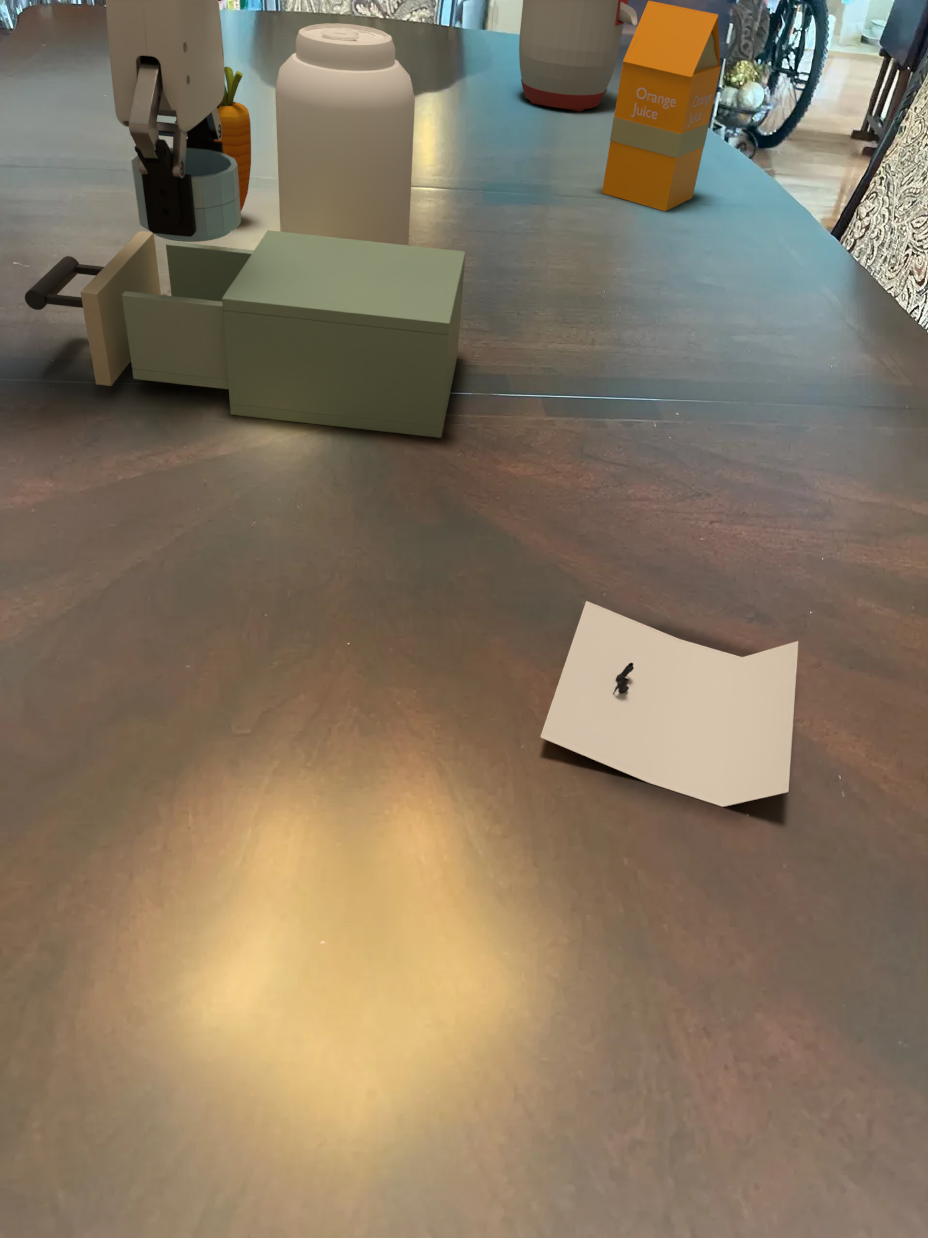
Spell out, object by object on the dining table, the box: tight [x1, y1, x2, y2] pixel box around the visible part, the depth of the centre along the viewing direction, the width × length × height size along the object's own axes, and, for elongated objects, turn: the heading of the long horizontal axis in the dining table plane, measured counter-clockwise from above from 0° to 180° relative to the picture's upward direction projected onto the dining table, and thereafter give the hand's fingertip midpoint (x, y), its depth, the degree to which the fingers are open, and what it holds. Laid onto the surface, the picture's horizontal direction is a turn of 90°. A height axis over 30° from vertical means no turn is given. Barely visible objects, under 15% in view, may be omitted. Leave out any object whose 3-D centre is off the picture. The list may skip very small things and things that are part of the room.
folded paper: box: [540, 600, 799, 808], centre depth 54 cm, size 12×12×2 cm
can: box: [274, 22, 416, 246], centre depth 94 cm, size 12×12×20 cm
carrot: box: [214, 66, 252, 212], centre depth 101 cm, size 5×5×15 cm
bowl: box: [130, 147, 242, 243], centre depth 72 cm, size 7×7×4 cm
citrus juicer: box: [518, 0, 638, 112], centre depth 150 cm, size 16×17×20 cm
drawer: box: [24, 230, 255, 390], centre depth 78 cm, size 20×13×7 cm, turn 85°
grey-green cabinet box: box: [222, 229, 466, 439], centre depth 78 cm, size 16×14×9 cm
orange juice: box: [601, 0, 722, 212], centre depth 118 cm, size 8×9×20 cm
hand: (189, 212), depth 73 cm, fingers closed on bowl, 7 cm apart
